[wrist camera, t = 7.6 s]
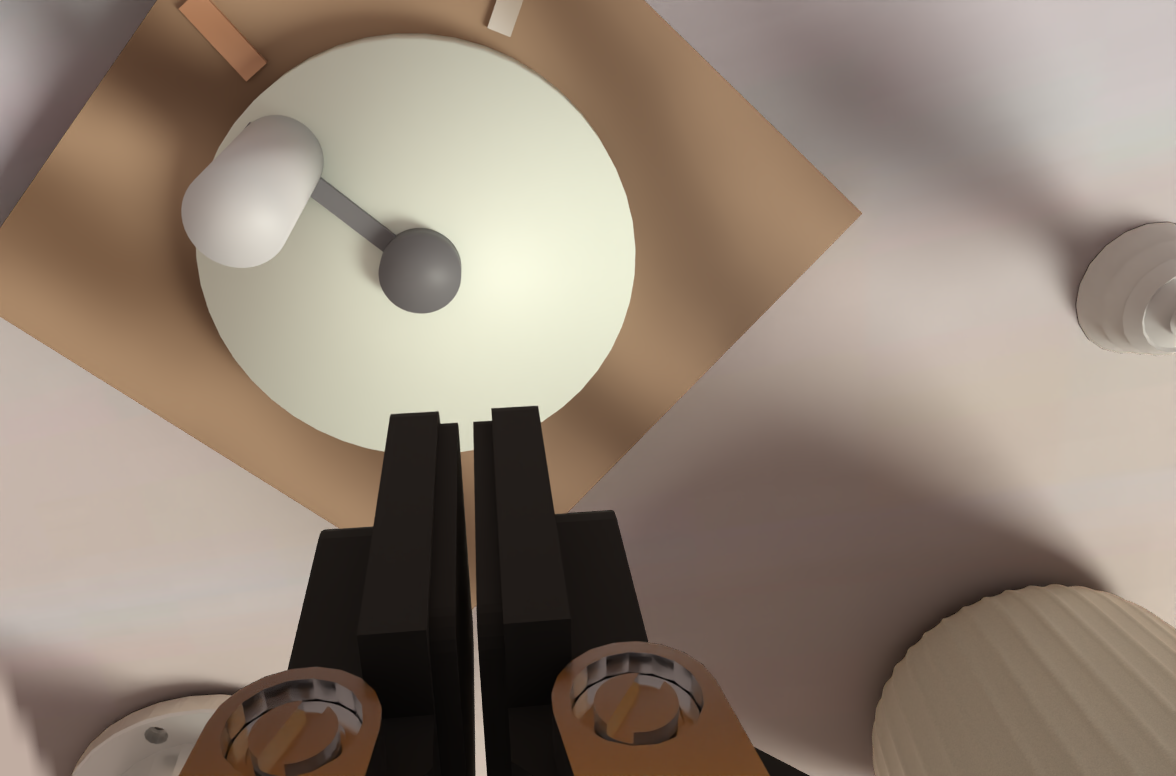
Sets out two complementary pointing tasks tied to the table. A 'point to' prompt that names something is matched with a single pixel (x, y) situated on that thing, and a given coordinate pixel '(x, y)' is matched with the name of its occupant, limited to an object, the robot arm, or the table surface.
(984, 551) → the table surface
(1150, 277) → the chalice
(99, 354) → the dial base
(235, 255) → the dial
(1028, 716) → the canister
